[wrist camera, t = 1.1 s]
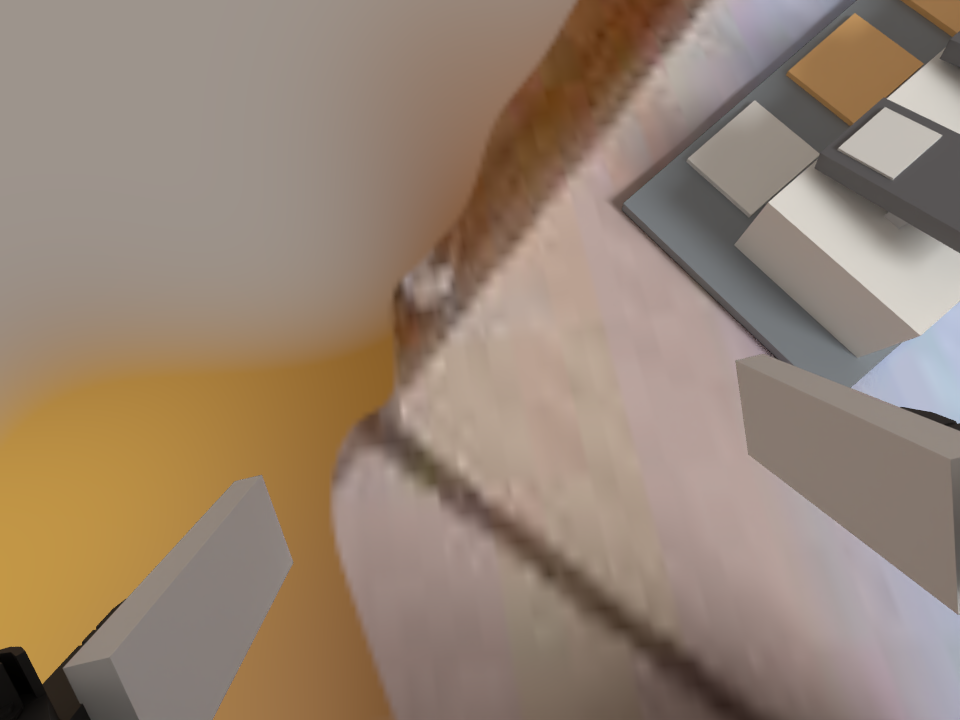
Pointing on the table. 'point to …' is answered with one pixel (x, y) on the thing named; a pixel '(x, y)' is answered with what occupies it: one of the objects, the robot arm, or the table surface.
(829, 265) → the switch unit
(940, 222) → the block
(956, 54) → the middle rocker
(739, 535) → the table surface
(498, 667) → the table surface
